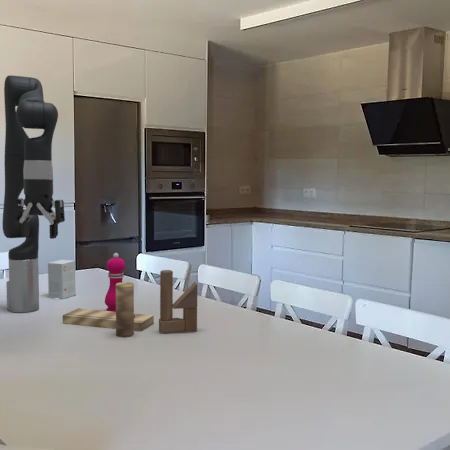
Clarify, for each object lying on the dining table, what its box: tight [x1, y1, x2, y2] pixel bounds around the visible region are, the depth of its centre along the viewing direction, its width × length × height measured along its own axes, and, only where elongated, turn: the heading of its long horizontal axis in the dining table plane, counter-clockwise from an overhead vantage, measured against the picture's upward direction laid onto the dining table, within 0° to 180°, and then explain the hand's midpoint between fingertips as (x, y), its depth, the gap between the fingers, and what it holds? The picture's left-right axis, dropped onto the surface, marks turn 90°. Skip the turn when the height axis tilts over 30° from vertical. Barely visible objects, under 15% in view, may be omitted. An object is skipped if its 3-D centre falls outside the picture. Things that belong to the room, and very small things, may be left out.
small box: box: [47, 259, 77, 300], centre depth 207 cm, size 8×6×13 cm
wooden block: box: [158, 269, 198, 334], centre depth 164 cm, size 4×11×18 cm, turn 105°
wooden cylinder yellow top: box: [115, 281, 135, 338], centre depth 162 cm, size 5×8×15 cm, turn 164°
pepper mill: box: [104, 252, 126, 312], centre depth 183 cm, size 7×7×20 cm
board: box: [62, 307, 155, 332], centre depth 172 cm, size 26×9×3 cm, turn 74°
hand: (39, 237), depth 153 cm, fingers open, 8 cm apart
